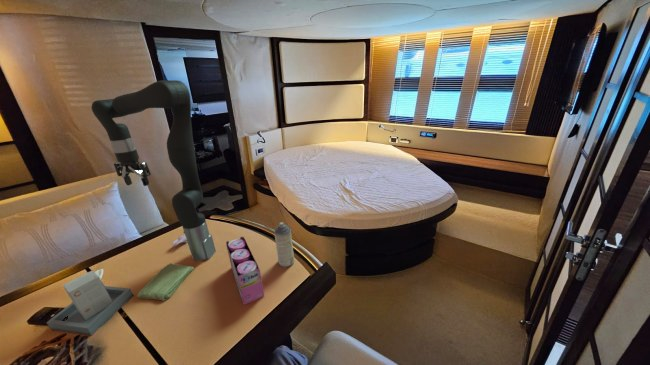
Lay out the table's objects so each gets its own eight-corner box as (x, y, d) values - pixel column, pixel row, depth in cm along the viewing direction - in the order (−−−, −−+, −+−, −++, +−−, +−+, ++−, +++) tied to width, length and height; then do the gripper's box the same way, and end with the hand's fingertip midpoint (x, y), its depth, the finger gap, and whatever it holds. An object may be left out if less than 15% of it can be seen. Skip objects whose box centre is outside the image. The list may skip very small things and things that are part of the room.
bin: (133, 295, 94) (130, 288, 93) (91, 335, 80) (87, 328, 79) (98, 291, 97) (94, 284, 96) (51, 329, 82) (46, 322, 81)
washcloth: (196, 268, 107) (194, 263, 106) (167, 303, 91) (164, 296, 90) (168, 267, 109) (166, 261, 108) (135, 300, 93) (132, 293, 92)
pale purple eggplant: (189, 235, 133) (168, 248, 118) (187, 224, 131) (166, 237, 117) (199, 235, 132) (179, 249, 118) (198, 225, 130) (177, 238, 116)
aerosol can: (294, 256, 112) (290, 218, 104) (293, 266, 105) (289, 227, 97) (279, 257, 111) (274, 219, 103) (277, 268, 105) (272, 228, 97)
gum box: (230, 266, 107) (224, 240, 102) (248, 259, 111) (243, 234, 106) (243, 305, 88) (237, 276, 83) (265, 296, 92) (260, 267, 87)
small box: (106, 296, 93) (92, 269, 88) (113, 303, 90) (99, 276, 85) (78, 312, 87) (61, 285, 82) (85, 321, 84) (68, 292, 79)
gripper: (101, 152, 101) (116, 188, 107) (132, 152, 99) (145, 189, 105) (118, 147, 108) (131, 181, 114) (147, 147, 105) (158, 182, 112)
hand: (138, 184), depth 110 cm, fingers open, 8 cm apart
